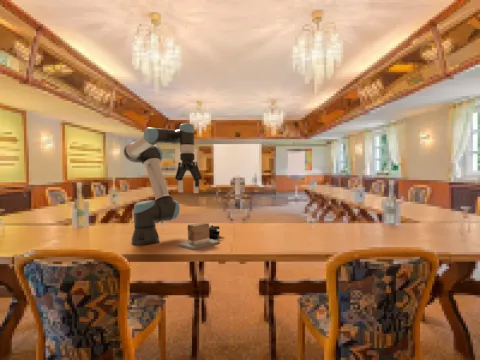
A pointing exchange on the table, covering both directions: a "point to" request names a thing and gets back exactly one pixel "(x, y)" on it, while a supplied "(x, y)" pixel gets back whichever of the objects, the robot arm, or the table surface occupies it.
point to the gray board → (198, 246)
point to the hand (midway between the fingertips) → (188, 192)
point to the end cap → (213, 232)
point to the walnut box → (198, 233)
